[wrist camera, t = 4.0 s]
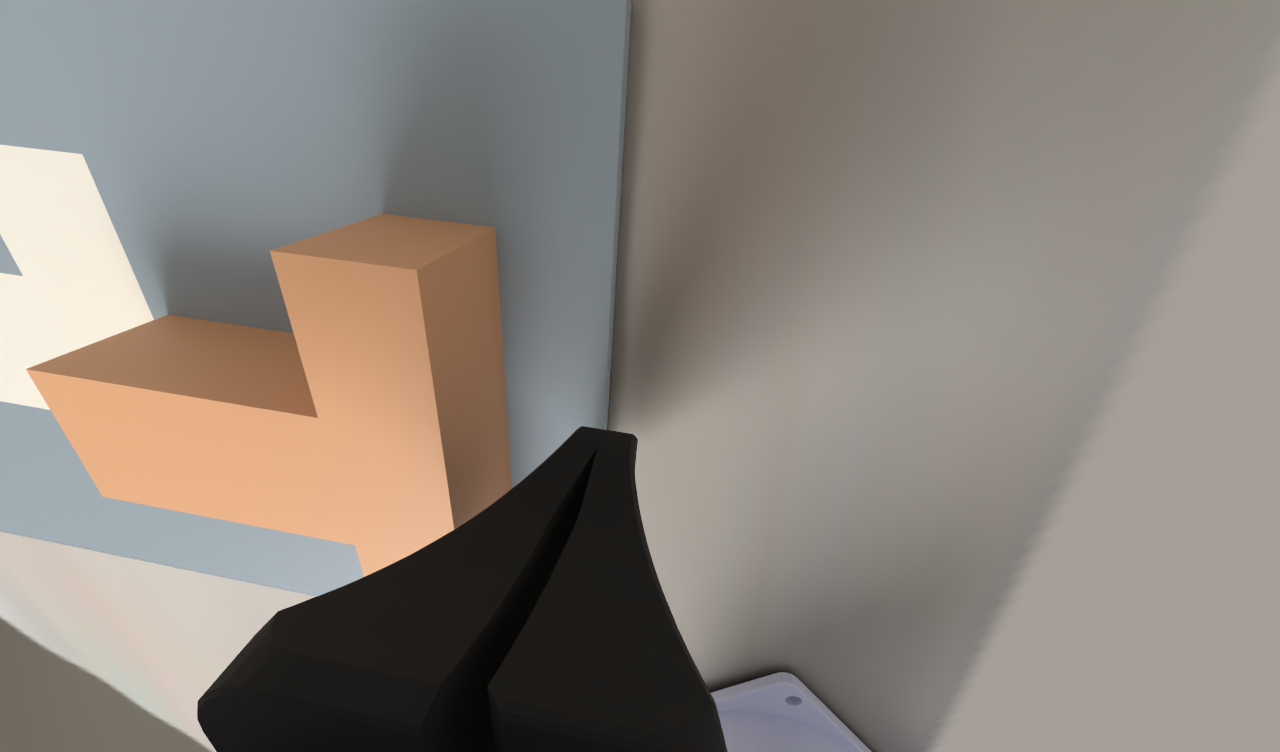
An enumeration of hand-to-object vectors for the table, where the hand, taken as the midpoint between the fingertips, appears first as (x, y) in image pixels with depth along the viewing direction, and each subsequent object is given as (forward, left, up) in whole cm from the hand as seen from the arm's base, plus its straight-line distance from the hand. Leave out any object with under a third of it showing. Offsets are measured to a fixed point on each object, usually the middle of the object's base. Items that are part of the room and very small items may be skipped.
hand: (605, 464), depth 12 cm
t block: (+5, +5, -1) cm, 7 cm away
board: (+9, +9, -1) cm, 13 cm away
